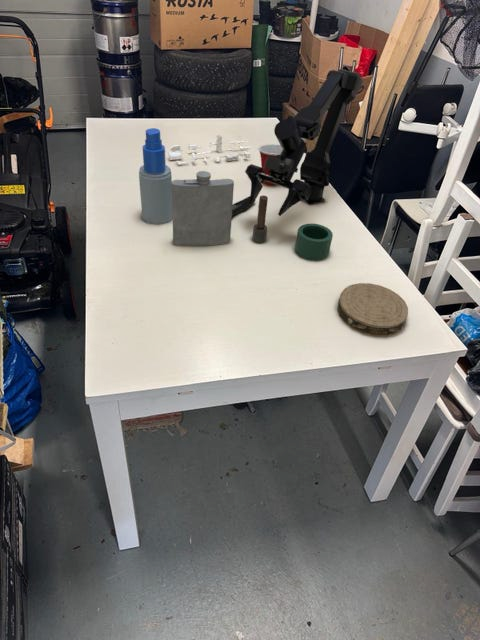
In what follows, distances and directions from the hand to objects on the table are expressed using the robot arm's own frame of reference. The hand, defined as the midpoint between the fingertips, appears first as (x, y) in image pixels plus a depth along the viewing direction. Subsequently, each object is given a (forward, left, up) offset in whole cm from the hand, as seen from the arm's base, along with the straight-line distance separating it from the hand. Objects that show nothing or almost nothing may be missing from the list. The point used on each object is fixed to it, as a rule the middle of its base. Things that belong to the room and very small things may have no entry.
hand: (264, 209), depth 126 cm
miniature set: (-11, -56, -9) cm, 58 cm away
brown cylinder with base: (+1, +1, -9) cm, 9 cm away
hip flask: (+17, -4, -9) cm, 19 cm away
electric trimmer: (-1, -16, -9) cm, 19 cm away
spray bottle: (+23, -22, -9) cm, 33 cm away
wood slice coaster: (-6, +40, -9) cm, 41 cm away
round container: (-9, +12, -9) cm, 17 cm away
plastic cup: (-22, -30, -9) cm, 39 cm away
